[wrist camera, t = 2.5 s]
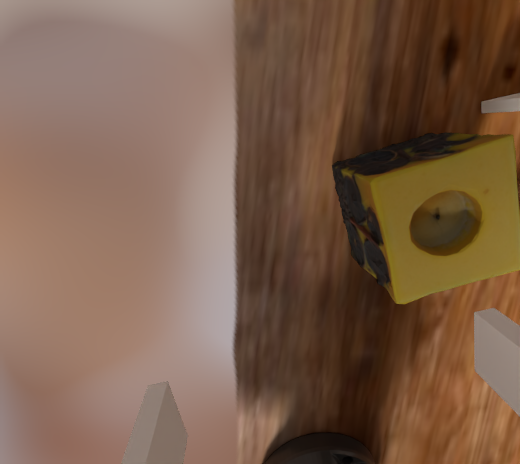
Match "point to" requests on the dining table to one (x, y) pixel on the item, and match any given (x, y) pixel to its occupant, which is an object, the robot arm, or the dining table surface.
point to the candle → (432, 212)
